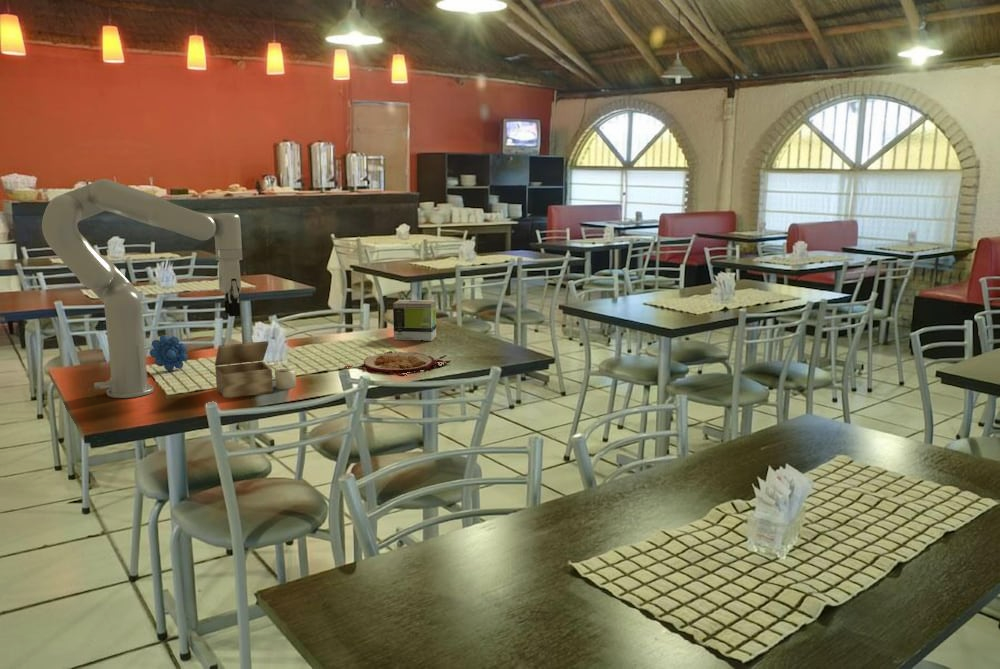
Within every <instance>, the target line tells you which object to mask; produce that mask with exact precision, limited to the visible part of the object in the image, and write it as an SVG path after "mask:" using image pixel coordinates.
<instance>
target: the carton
mask: <svg viewBox="0 0 1000 669" xmlns="http://www.w3.org/2000/svg"><path fill="white" fill-rule="evenodd" d="M214 368H215V382H216V383H215V384H216V390H217V392H219V394H220V395H221V397H222V398H223V399H228V398H229V399H230V398H239V397H245V396H254V395H262V394H270V393H274V391H273V390H274V387H273V369H272V368H271V367H270V366H269V365H268V364H266V363H265V362H264V361H257V362H247V363H238V364H228V365H218V366H215V367H214Z"/></svg>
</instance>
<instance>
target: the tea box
mask: <svg viewBox="0 0 1000 669" xmlns="http://www.w3.org/2000/svg"><path fill="white" fill-rule="evenodd" d="M436 302H437V301H436V300H435V299H398V300H396V301H395V302H393V303H392V316H393V317H392V318H393V319H392V320H393V321H392V322H393V339H394V341H421V340H423V341H426V342H427V341H428V342H431V341H433V340H434V339H435V338H436V336H437V303H436Z"/></svg>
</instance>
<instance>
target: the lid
mask: <svg viewBox="0 0 1000 669" xmlns="http://www.w3.org/2000/svg"><path fill="white" fill-rule="evenodd" d="M268 347H269V340H265V341H257V342H256V341H255V342H254V341H253V342H244V343H235V344H234V343H233V344H232V343H231V344H223V345H218V348H217V353H216V357H215V361H214V366H215V367H216V366H226V365H235V364H245V363H254V362H264V360H265V356H266V353H267V349H268Z"/></svg>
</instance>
